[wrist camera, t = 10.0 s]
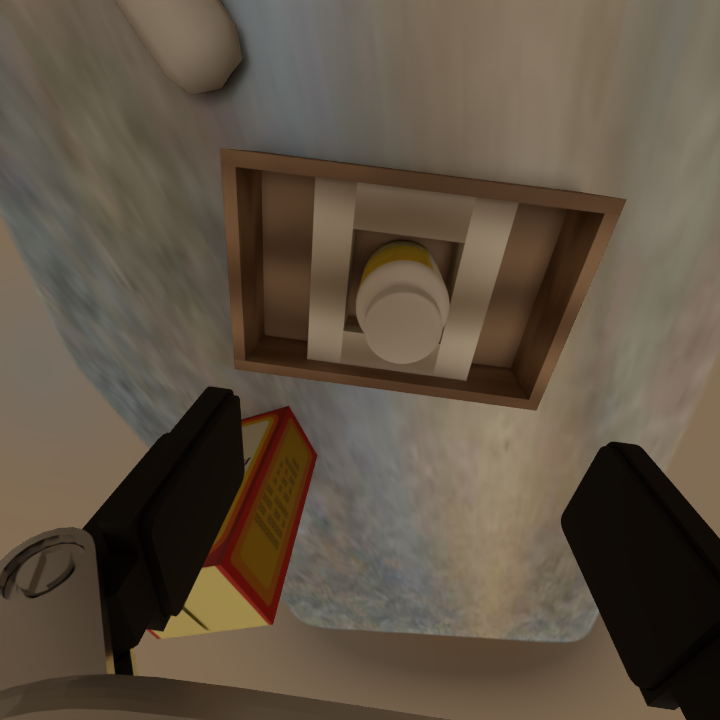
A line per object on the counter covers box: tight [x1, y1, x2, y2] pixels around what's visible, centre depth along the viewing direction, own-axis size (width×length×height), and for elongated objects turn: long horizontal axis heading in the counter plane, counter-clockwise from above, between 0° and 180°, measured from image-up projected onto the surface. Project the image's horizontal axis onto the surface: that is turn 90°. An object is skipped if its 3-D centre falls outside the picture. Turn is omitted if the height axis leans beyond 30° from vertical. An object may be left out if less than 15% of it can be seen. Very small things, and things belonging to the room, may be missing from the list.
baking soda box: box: [146, 406, 317, 639], centre depth 30 cm, size 10×6×16 cm
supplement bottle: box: [356, 239, 450, 364], centre depth 23 cm, size 5×5×10 cm
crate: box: [220, 148, 627, 410], centre depth 25 cm, size 14×22×6 cm, turn 83°
